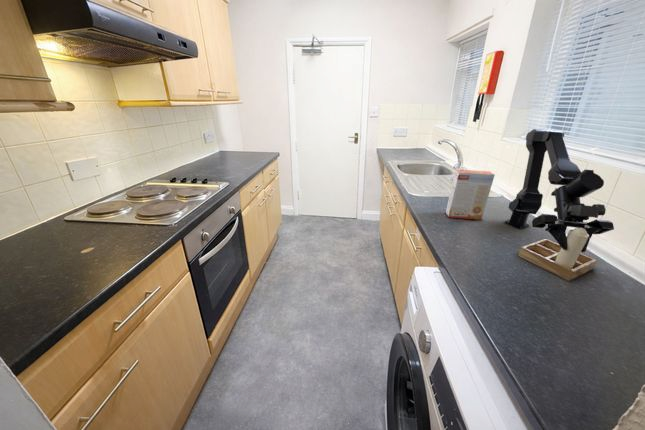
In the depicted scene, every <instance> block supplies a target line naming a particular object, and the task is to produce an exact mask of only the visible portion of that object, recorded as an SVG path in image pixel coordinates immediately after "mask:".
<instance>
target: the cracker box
mask: <svg viewBox="0 0 645 430" xmlns="http://www.w3.org/2000/svg"><path fill="white" fill-rule="evenodd" d="M495 176H496V174H495V173H493V172H491V171H488V170H473V169H460V168H459V169H458V168H456V169H455V171H454V175H453V179H452V183H451V187H450V192H449V197H448V201H447V204H446V209H445V214H446V216H447V217H448V218H453V219H454V218H456V219H465V220H477V221H482V219H483V216H484V212H485V208H486V206H487V202H488V200H489V195H490V192H491V189H492V187H493V183H494V179H495Z"/></svg>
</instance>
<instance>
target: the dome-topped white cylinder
mask: <svg viewBox="0 0 645 430" xmlns="http://www.w3.org/2000/svg"><path fill="white" fill-rule="evenodd" d="M588 237H589V234H587V231H586V230H585V229H583V228H576V227H574V228H573V229H570V230H569V231H568V233H567V234H566V239H567V250H563V249H562V247H561V250H560V252H559V254H558V256H557V258H556V260H555V262H556V263H558V264H561V265H563V266H565V267H567V268H569V269H571V270H572V268H573V266H574V264H575V262H576V260H577V258H578V256H579V255H580V253H581V254H582V252H581V251H582V249H583V247H584V245H585V243H586V241H587V239H588Z"/></svg>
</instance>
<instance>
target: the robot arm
mask: <svg viewBox="0 0 645 430" xmlns="http://www.w3.org/2000/svg"><path fill="white" fill-rule="evenodd" d="M564 138H565V133H564V131H561V130H552V129H537V128H533V129H531V131H529V132H527V134H526V136H525V148H526V149H527V151H528V159H527V165H526V168H525V174H524V180H523V186H522V188H521V189H520V190H519V192H517V194H516V196H515V198H514V199H513V200H511V201H510V202H508V203H509V204H508V209H509V210H510V211H511V212H512V213H511V214H510V218H509V220H505V221H504V223H506V224H508V225H510V226H513V227H514V228H518V229H523V228H527V227H529V226H530V225H529V224H528V223H527V221H528V219H529V217H530V214H531V215H536V214H537V213H538V212H539V210H541V208H542V204H543V203H542V202H543V197H544V195H543V193H541V192H540V191H539V186H540V181H541V176H542V170H543V165H544V160H545V155H546V152H547V154H548V158H549V162H550V169H549V170H548V172H547V175H548V176H547V180H548V182H549V184H550V185H554V186H559V187H555V188H554V190H553V191H552V192H551V193H550V196H553V197H555V205H556V207H555V208H553V212H554V213H555V212H556V214H557V215H556V214H548V213H541V214H540V215H538V216H536V217H535V218H533V219H532V221H531V226H532V227H533V228H536V229H537V228H538V229H543V228H545V227H546V226H547V227H546V228H545V229H544V230H545V231H546V232H548V233H549V234H550V235H551V237H553V238H554V240H555V241H556V243H557V244H559V245H560V246H561V247H562V249H563V250H567V239H566V237H567V233H566V231H567V229H568V228H583V229H585V230H586V231H587V234H589V237H588V239H587V241H586V243H585V245H584V247H583V249H582V251H581V253H586V251H587V249H588V245H589V243H590V240H591V238H592V236H593V235H602V234H604V233H608V232H611V231H614V230H615V227H614V226H615V225H614V222H612V220H605V219H598V217H599V216H604V215H606V212H607V211H606V207H605V204H601V203H597V204H595V203H594V204H592V205H586V204H585V203H581V198H585V197H587V196H588V195H591V194H593V193H594V192H596V191H598V190H600V189H602V188H603V187H604V185H605V181H604V179H603V178H602V177H601V176H600V175H599V174H597V173H595V171H594V169H587V168H586V169H585V168H584V170H582V171H581V169H580V167H579V166H578V165H577V164H576V163H575V162H573V161H572V160H571V158H570V155H569V152H568V149H567V146H566V142H565V139H564ZM590 218H594V220H591V221H589V220H590ZM587 221H589V222H587Z"/></svg>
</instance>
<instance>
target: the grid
mask: <svg viewBox="0 0 645 430" xmlns="http://www.w3.org/2000/svg"><path fill="white" fill-rule="evenodd" d="M560 250H561V246H560V245H559V243H558V242H555V241H553V240H550V239H548V238H544V239H543V238H542V239H541V240H538V241H535V242H531V243H530V244H526V245H524V246H521V247H520V250H519V253H518V255H517V256H518V257H520V258H522V259H524V260H526V261H528V262H530V263H532V264H533V265H536V266H538V267H539V268H542V269H544V270H546V271H548V272H550V273H552V274H554V275H556V276H558V277H560V278H562V279H564V280H566V281H568V282H569V281H571V280H573V279H575V278H578V277H579V276H581V275H583V274H585V273H587V272H589V271H591V270H593V269H594V267H595V266H596V264H597V262H598V259H596V258H593V257H592V256H591V257H590V256H589V255H586V254H583V253H582V252H581V253H580V255H579V256H578V258H577V260H576V262H575V264H574V266H573V268H572V270H571V269H569V268H567V267H565V266H563V265H561V264H558V263H556V262H555V260H556V258H557V256H558V254H559V252H560Z"/></svg>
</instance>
